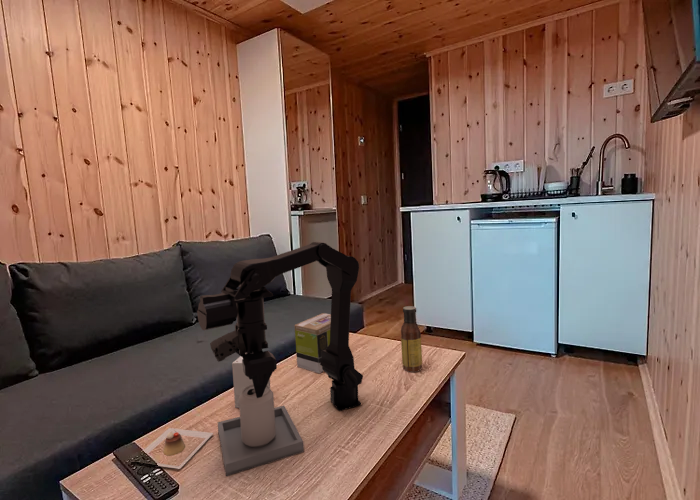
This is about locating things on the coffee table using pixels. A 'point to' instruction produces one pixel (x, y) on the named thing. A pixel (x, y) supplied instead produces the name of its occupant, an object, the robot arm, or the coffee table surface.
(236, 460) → the tray
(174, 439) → the dessert
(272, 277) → the robot arm
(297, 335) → the tea box
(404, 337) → the sauce bottle
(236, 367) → the supplement box
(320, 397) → the coffee table surface
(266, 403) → the can
